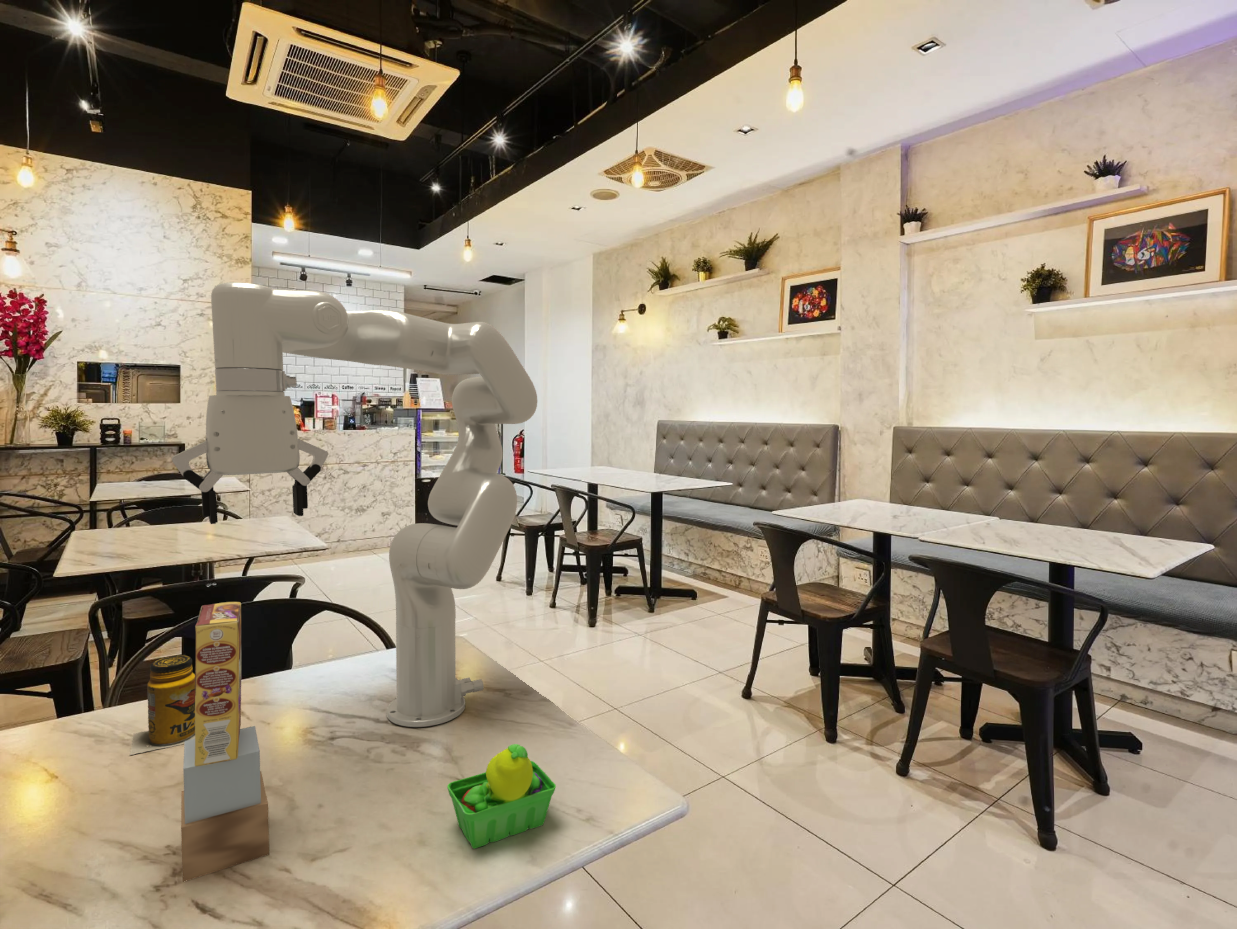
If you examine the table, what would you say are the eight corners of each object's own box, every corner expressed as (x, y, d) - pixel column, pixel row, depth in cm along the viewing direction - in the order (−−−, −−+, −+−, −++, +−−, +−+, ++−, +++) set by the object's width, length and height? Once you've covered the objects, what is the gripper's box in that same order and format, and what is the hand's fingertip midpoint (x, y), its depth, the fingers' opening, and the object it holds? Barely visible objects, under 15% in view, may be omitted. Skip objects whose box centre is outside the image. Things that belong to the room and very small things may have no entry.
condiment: (199, 741, 97) (197, 663, 96) (129, 756, 92) (126, 674, 91) (199, 722, 103) (197, 649, 102) (133, 735, 98) (130, 659, 97)
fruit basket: (531, 795, 84) (531, 711, 83) (563, 832, 76) (563, 740, 75) (445, 824, 77) (444, 733, 77) (470, 867, 70) (470, 767, 69)
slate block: (256, 774, 77) (255, 725, 77) (260, 803, 71) (259, 751, 71) (186, 791, 73) (184, 741, 73) (184, 824, 67) (183, 768, 67)
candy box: (242, 759, 69) (238, 620, 68) (194, 769, 67) (190, 625, 66) (244, 725, 77) (241, 599, 76) (201, 733, 75) (198, 604, 74)
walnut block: (262, 818, 78) (261, 770, 78) (269, 855, 72) (268, 803, 71) (182, 841, 74) (181, 791, 73) (182, 883, 67) (181, 827, 67)
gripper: (318, 387, 89) (323, 508, 91) (166, 384, 79) (174, 521, 80) (330, 385, 83) (335, 515, 84) (167, 382, 73) (176, 530, 74)
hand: (257, 518), depth 82 cm, fingers open, 9 cm apart
